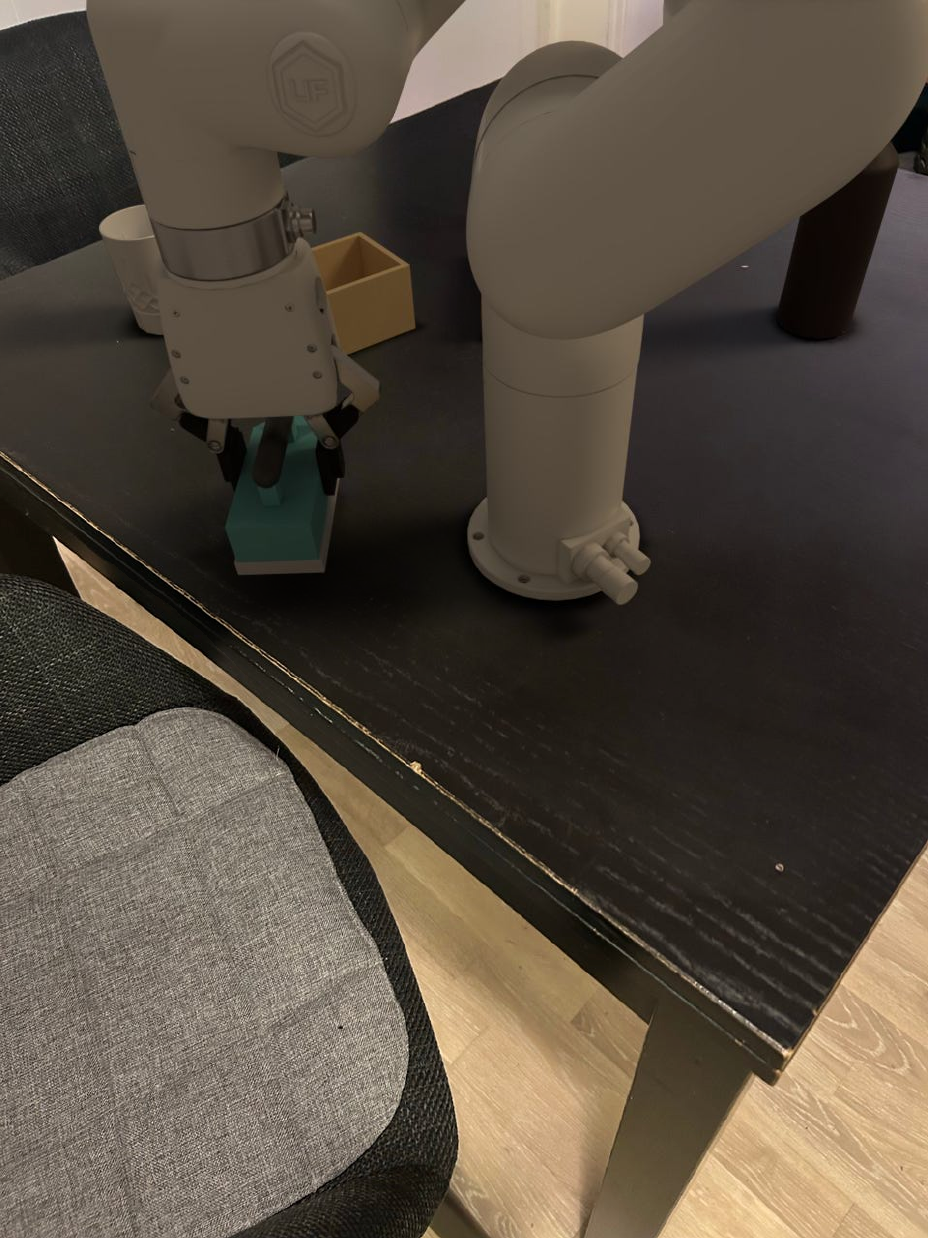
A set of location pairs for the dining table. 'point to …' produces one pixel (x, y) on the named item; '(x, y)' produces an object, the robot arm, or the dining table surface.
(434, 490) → the dining table surface
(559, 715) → the dining table surface
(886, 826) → the dining table surface
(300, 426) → the iron
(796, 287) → the bottle
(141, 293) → the white cup
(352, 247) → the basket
